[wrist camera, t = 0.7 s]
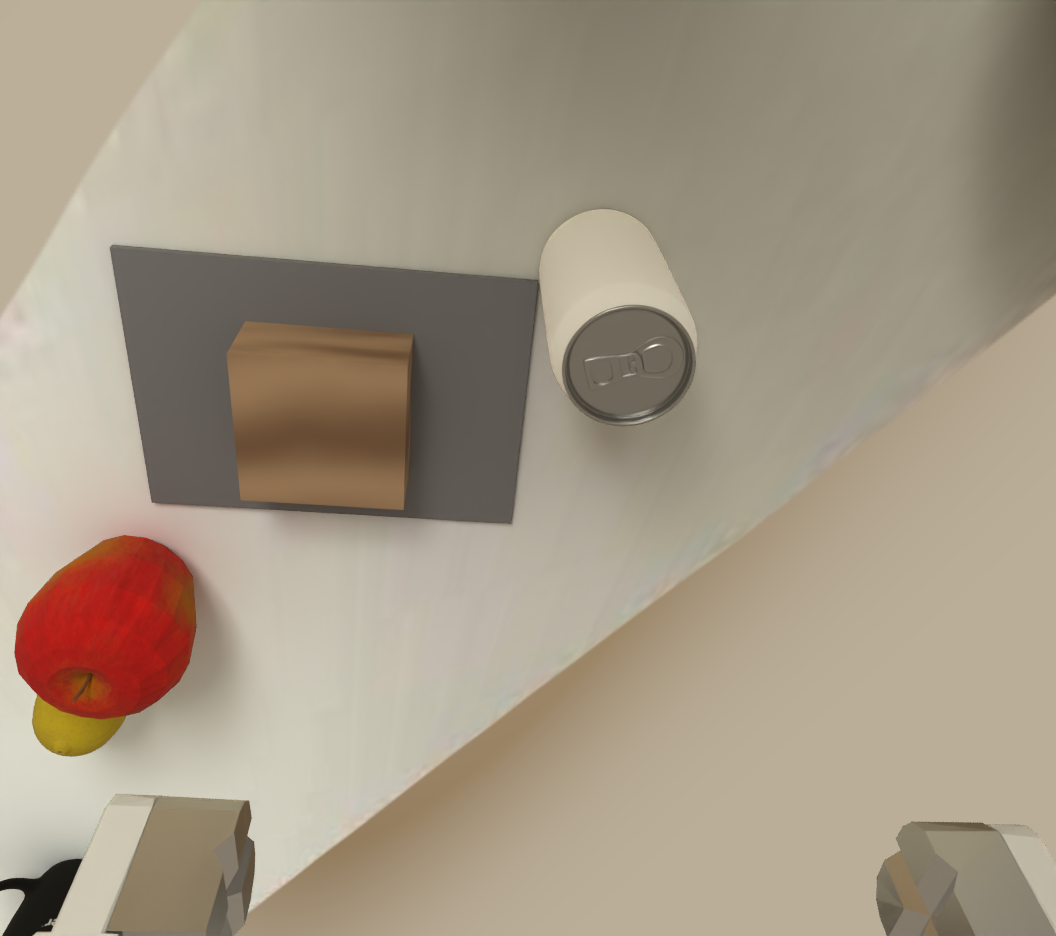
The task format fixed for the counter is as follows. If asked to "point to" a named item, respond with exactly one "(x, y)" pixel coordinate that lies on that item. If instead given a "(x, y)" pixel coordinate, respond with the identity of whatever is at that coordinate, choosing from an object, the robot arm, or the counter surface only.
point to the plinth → (321, 414)
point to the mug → (41, 898)
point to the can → (615, 319)
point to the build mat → (335, 302)
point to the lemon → (71, 730)
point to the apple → (109, 630)
